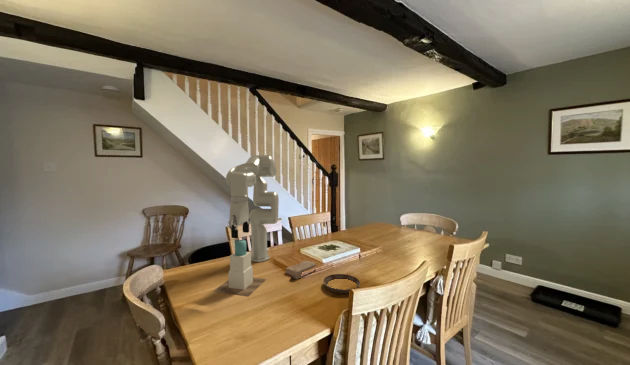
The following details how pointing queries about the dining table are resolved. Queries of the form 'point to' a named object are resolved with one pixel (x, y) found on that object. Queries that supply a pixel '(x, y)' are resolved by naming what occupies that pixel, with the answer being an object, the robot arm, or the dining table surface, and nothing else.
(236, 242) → the teal cylinder
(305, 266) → the brick
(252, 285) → the tower board
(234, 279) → the tower block lower
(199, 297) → the dining table surface
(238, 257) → the tower block upper
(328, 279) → the dark brown ring
